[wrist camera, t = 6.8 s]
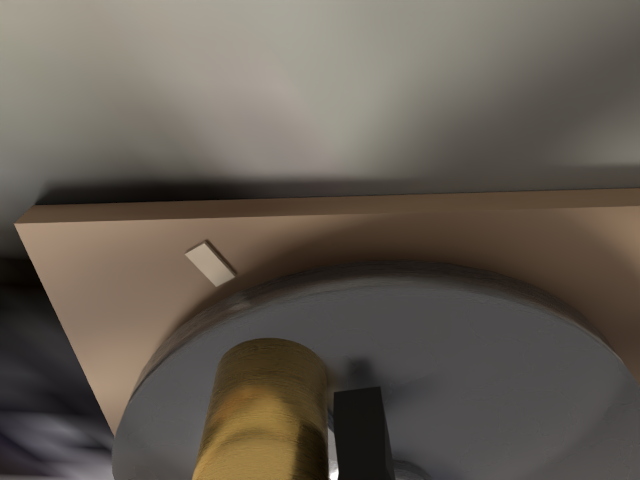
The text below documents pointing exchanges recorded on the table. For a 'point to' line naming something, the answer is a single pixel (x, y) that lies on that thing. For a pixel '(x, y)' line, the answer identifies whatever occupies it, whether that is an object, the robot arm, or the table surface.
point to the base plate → (316, 259)
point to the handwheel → (385, 381)
